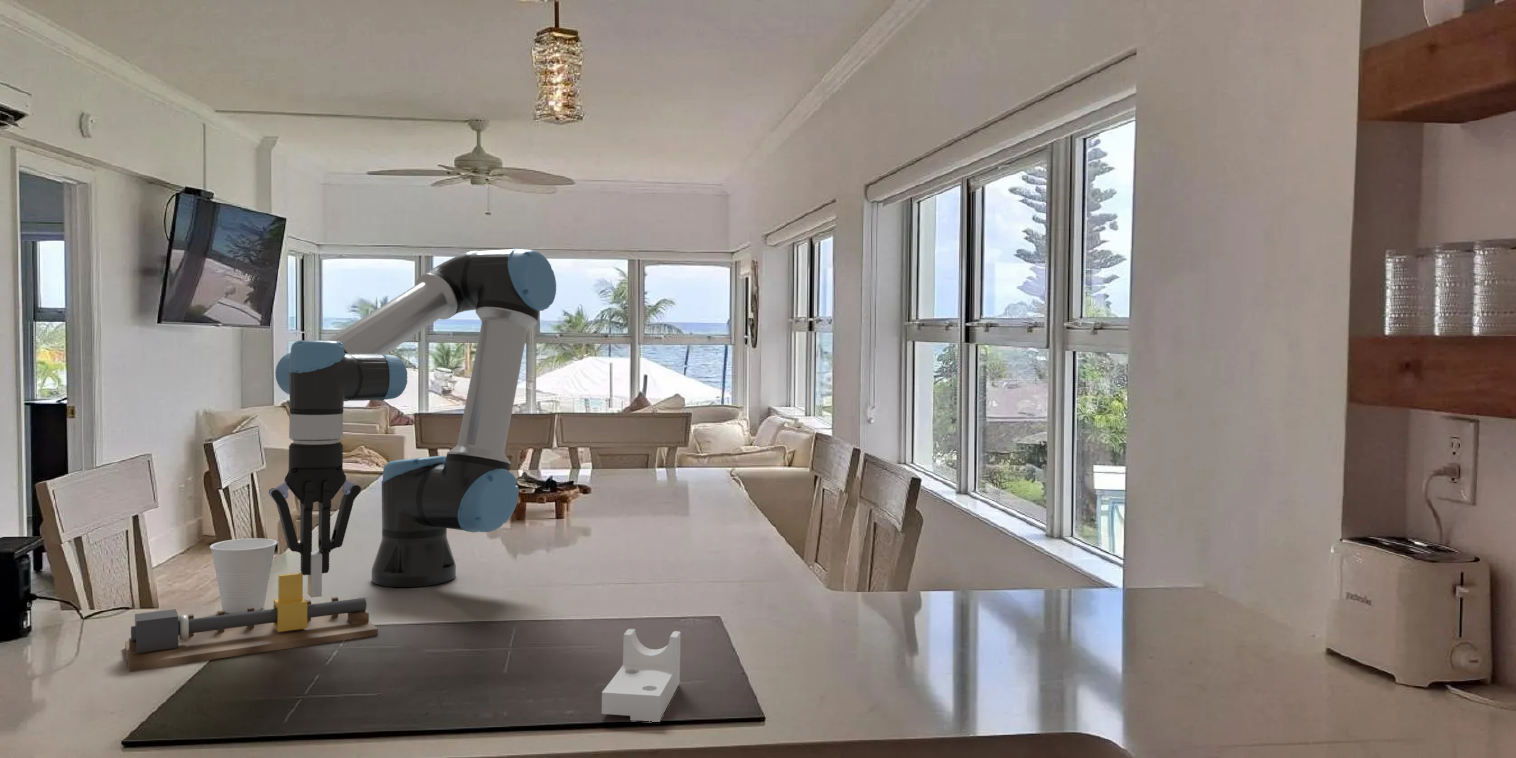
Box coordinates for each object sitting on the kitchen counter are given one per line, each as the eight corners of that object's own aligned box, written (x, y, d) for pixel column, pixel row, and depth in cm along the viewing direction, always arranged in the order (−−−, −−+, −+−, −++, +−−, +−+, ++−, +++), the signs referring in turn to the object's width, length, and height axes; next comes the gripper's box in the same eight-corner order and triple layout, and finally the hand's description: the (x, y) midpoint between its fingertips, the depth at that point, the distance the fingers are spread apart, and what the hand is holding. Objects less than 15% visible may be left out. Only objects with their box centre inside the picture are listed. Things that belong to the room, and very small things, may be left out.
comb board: (358, 616, 159) (359, 592, 159) (377, 635, 149) (377, 609, 149) (125, 647, 140) (125, 620, 140) (129, 671, 130) (129, 641, 130)
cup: (248, 619, 156) (248, 551, 155) (194, 615, 158) (195, 547, 157) (289, 604, 165) (290, 540, 165) (239, 600, 167) (239, 536, 167)
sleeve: (302, 621, 150) (302, 570, 150) (307, 628, 147) (307, 575, 146) (273, 625, 148) (273, 573, 147) (278, 631, 144) (278, 578, 144)
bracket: (627, 684, 130) (628, 628, 130) (679, 687, 129) (680, 631, 129) (601, 721, 117) (602, 659, 117) (659, 725, 116) (660, 662, 116)
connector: (186, 637, 141) (186, 607, 141) (189, 645, 138) (189, 615, 138) (134, 644, 138) (134, 613, 138) (136, 653, 134) (136, 621, 134)
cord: (363, 608, 154) (363, 596, 154) (366, 611, 153) (366, 599, 152) (130, 639, 136) (130, 624, 136) (131, 642, 135) (131, 628, 135)
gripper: (355, 438, 155) (353, 584, 156) (264, 440, 148) (263, 595, 148) (367, 442, 149) (365, 595, 150) (273, 445, 141) (271, 606, 142)
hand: (314, 594), depth 149 cm, fingers closed
